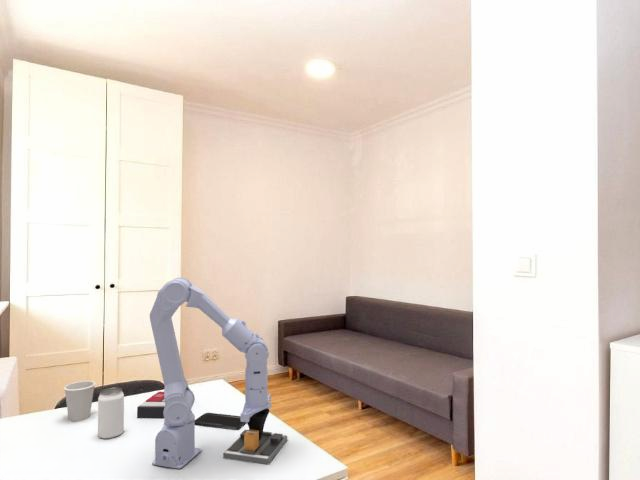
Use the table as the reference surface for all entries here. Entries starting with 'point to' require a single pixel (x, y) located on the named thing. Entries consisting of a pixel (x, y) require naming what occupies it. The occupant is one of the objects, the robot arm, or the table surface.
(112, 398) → the can
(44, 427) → the table surface
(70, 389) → the dixie cup
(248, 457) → the panel
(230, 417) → the phone
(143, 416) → the red and black box
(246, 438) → the handle
